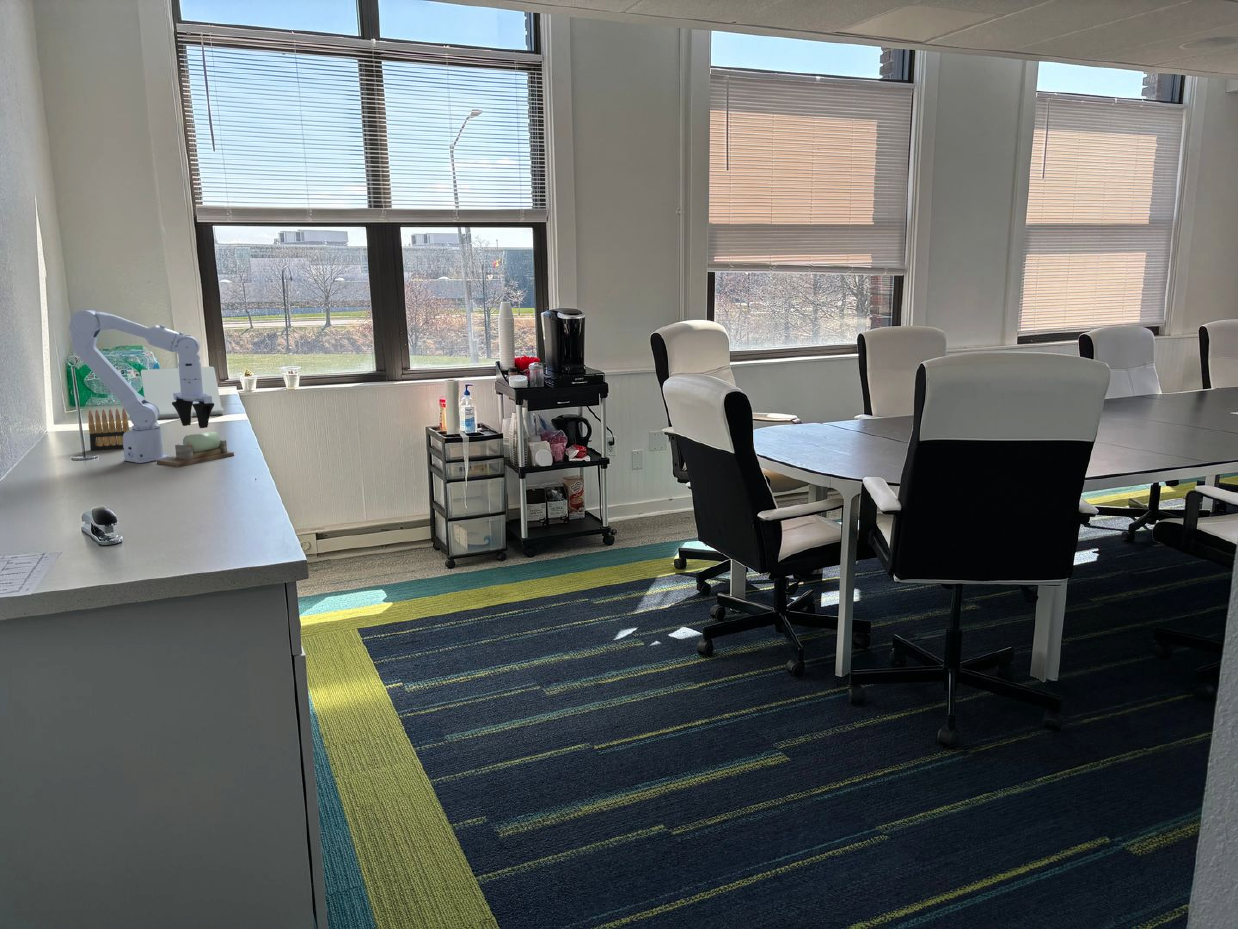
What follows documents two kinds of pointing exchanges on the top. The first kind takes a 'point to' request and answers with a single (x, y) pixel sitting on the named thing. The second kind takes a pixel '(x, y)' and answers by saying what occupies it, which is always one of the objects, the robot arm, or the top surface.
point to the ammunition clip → (107, 430)
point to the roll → (202, 441)
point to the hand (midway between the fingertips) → (195, 426)
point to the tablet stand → (176, 390)
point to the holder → (195, 455)
